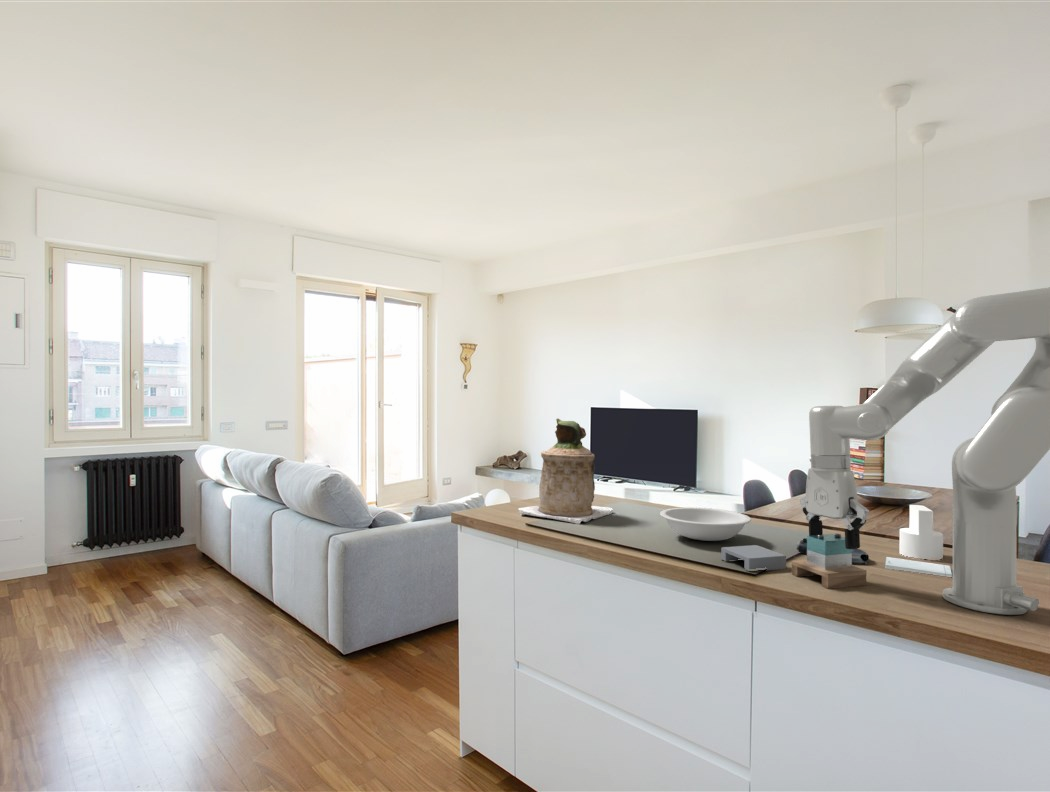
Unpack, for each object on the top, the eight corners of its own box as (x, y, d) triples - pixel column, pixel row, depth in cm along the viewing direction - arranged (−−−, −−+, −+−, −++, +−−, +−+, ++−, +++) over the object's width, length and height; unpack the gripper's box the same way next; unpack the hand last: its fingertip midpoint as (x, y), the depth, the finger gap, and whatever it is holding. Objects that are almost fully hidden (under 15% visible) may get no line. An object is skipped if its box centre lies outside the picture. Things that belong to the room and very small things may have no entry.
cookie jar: (582, 525, 176) (583, 420, 176) (515, 515, 189) (516, 418, 189) (615, 513, 196) (616, 418, 197) (553, 505, 210) (554, 417, 210)
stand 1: (786, 568, 132) (786, 555, 132) (749, 572, 129) (749, 558, 129) (756, 557, 141) (756, 545, 141) (721, 560, 138) (721, 547, 138)
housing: (825, 570, 120) (825, 538, 120) (806, 563, 125) (807, 533, 125) (851, 567, 122) (851, 536, 122) (832, 561, 127) (832, 531, 127)
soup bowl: (741, 531, 170) (741, 509, 170) (759, 552, 146) (760, 526, 146) (657, 527, 174) (657, 505, 174) (662, 547, 150) (662, 521, 150)
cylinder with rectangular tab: (895, 549, 151) (895, 503, 151) (936, 553, 147) (936, 506, 148) (904, 558, 142) (904, 509, 142) (948, 562, 139) (948, 512, 139)
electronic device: (795, 561, 145) (861, 565, 134) (793, 538, 146) (858, 541, 135) (811, 559, 151) (875, 563, 140) (809, 537, 152) (872, 540, 141)
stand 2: (866, 584, 121) (866, 570, 121) (827, 588, 118) (828, 573, 118) (828, 571, 130) (828, 557, 130) (791, 574, 127) (791, 560, 127)
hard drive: (885, 563, 133) (952, 573, 126) (886, 556, 140) (949, 564, 133) (885, 571, 133) (952, 580, 126) (886, 563, 140) (949, 571, 133)
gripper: (786, 461, 131) (789, 537, 131) (850, 467, 115) (853, 554, 114) (813, 459, 133) (816, 534, 133) (879, 465, 117) (883, 550, 116)
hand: (833, 543), depth 123 cm, fingers open, 9 cm apart
